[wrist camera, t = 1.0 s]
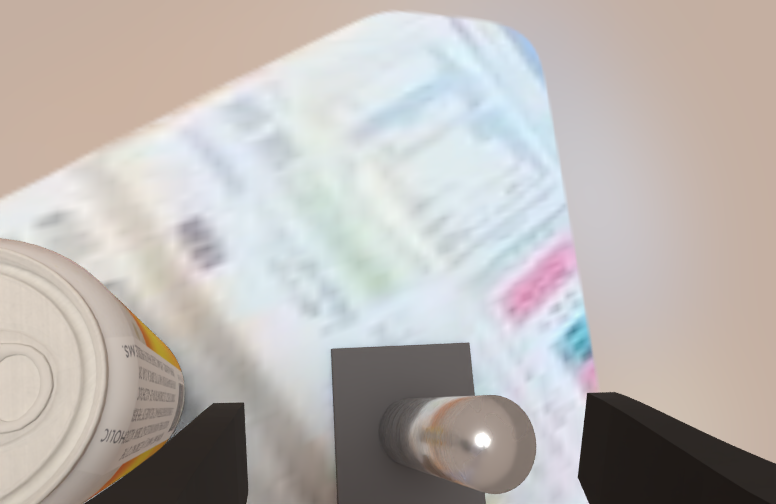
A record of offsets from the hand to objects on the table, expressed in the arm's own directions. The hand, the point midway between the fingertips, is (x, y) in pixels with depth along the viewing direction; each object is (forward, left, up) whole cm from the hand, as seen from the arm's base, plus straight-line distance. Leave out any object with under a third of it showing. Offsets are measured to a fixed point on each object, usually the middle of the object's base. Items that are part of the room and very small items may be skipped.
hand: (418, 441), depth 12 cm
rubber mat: (-1, -4, -15) cm, 16 cm away
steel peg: (-1, -4, -15) cm, 15 cm away
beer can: (+2, +9, -15) cm, 18 cm away
